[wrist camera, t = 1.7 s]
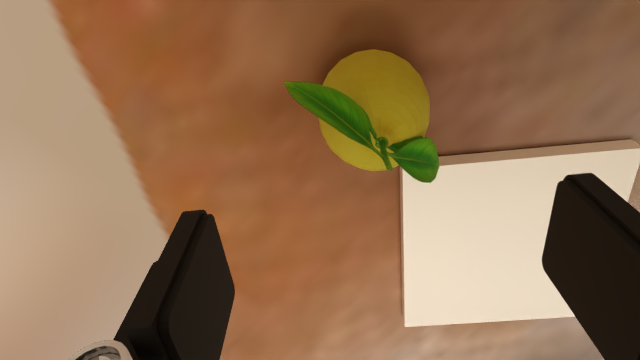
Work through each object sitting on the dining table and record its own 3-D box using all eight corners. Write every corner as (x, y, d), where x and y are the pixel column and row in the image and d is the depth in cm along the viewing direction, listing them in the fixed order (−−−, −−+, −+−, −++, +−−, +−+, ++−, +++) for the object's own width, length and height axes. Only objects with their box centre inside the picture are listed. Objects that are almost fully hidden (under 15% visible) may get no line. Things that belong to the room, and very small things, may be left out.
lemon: (295, 45, 23) (274, 109, 14) (400, 10, 22) (448, 54, 13) (332, 150, 26) (333, 255, 17) (425, 123, 25) (477, 220, 16)
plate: (631, 139, 25) (644, 147, 24) (583, 303, 32) (592, 315, 31) (399, 160, 26) (402, 169, 25) (402, 314, 33) (404, 326, 32)
